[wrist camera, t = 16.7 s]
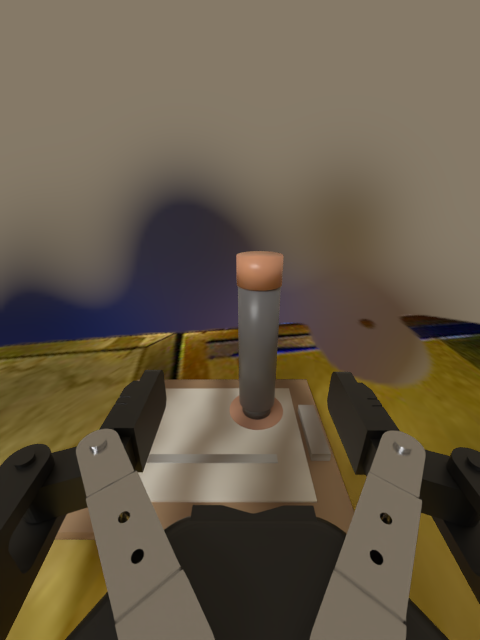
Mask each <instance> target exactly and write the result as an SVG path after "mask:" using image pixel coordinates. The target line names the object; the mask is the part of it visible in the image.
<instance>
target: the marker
mask: <svg viewBox="0 0 480 640" xmlns="http://www.w3.org/2000/svg"><path fill="white" fill-rule="evenodd" d="M282 273H283V255H282V254H280V253H276V252H267V251H252V252H243V253H239V254H237V286H238V314H239V315H238V324H239V402H240V404H241V406H242V411H243V413H244V415H245V416H247V417H248V418H251V419H255V420H260V419H264V418H266V417H268V416H269V414H270V412H271V408H272V406H273V405H274V398H275V380H276V361H277V343H278V325H279V306H280V287H281V286H282Z"/></svg>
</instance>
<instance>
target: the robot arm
mask: <svg viewBox="0 0 480 640" xmlns="http://www.w3.org/2000/svg"><path fill="white" fill-rule="evenodd" d="M166 400H167V398H166V389H165V381H164V374H163V371H162V370H145V372H144V373H143V375H142V377H141V379H140V381H132V382H131V383H130V384H129V385H128V386H126V387H125V388H124V390H123V391H122V393H121V395H120V398H118V400H117V401H116V404H115V405H114V406H113V408H112V410H111V411H110V413H109V414H108V416H107V418H106V419H105V421H104V423H103V424H102V426H101V428H100V429H99V430H97V431H94V432H92V433H90V434H88V435H87V436H86V437H84V438H83V439H82V440H81V441H80V442H79V444H78V446H77V447H73V448H70V449H66V450H62V451H58V452H54V453H51V451H50V449H49V447H48V446H47V445H44V444H34V445H30V446H27V447H24V448H22V449H20V450H18V451H16V452H15V453H13V454H12V455H11V456H9V457H8V458H7V459H6V460H5V461H4V462H3V464H2V465H1V466H0V640H5V639H6V637H7V635H8V633H9V631H10V629H11V627H12V625H13V623H14V621H15V619H16V617H17V615H18V613H19V611H20V609H21V607H22V605H23V603H24V601H25V599H26V597H27V595H28V592H29V590H30V588H31V586H32V584H33V582H34V580H35V578H36V576H37V574H38V572H39V570H40V568H41V566H42V564H43V562H44V560H45V558H46V556H47V554H48V552H49V550H50V548H51V545H52V543H53V541H54V539H55V537H56V535H57V533H58V531H59V529H60V527H61V525H62V523H63V521H64V519H65V517H66V515H67V514H69V513H72V512H75V511H78V510H81V509H84V508H88V511H89V515H90V519H91V523H92V527H93V532H94V536H95V540H96V544H97V548H98V552H99V557H100V561H101V565H102V569H103V573H104V578H105V582H106V586H107V590H108V592H107V593H106V594H105V595H104V596H103V597H102V599H101V600H100V601H99V602H98V603H97V604H96V605H95V606H94V608H93V609H92V610H91V611H90V612H89V613H88V614H87V615H86V617H85V618H84V619H83V620H82V621H81V622H80V623H79V625H78V626H77V627H76V628H75V629H74V630H73V631H72V632H71V634H70V635H69V636H68V637H67V638H66V639H65V640H449V639H448V638H447V637H446V636H445V635H444V634H443V633H442V632H441V631H440V630H439V629H438V628H437V627H436V626H435V625H434V624H433V622H432V621H431V620H430V619H429V618H428V617H427V616H426V615H425V614H424V613H423V612H422V611H421V610H420V609H419V608H418V607H417V606H416V605H415V604H414V603H413V602H412V601H411V600H410V598H409V592H410V584H411V577H412V570H413V563H414V556H415V549H416V542H417V535H418V528H419V521H420V514H421V513H424V514H427V515H430V516H432V518H433V520H434V521H435V523H436V525H437V527H438V529H439V531H440V532H441V534H442V536H443V538H444V540H445V542H446V543H447V545H448V547H449V549H450V551H451V553H452V554H453V556H454V558H455V560H456V562H457V564H458V565H459V567H460V569H461V571H462V573H463V575H464V576H465V578H466V580H467V582H468V584H469V586H470V587H471V589H472V591H473V593H474V595H475V597H476V598H477V600H478V602H479V604H480V452H478V451H475V450H473V449H469V448H463V447H459V448H456V449H454V450H453V451H452V453H451V455H450V456H447V455H443V454H439V453H435V452H431V451H428V450H425V449H424V448H423V446H422V445H421V444H420V443H419V442H418V441H417V440H416V439H415V438H413V437H412V436H410V435H408V434H406V433H403V432H400V431H399V429H398V428H397V426H396V425H395V423H394V422H393V420H392V419H391V417H390V416H389V415H388V413H387V412H386V410H385V409H384V407H382V404H381V403H380V401H379V400H377V397H376V396H375V394H374V393H373V391H372V390H371V389H370V388H368V387H367V386H366V385H364V384H363V383H357V381H356V380H355V378H354V377H353V375H352V373H351V372H333V373H332V376H331V381H330V387H329V393H328V399H327V403H328V409H329V412H330V415H331V417H332V420H333V422H334V424H335V427H336V429H337V432H338V434H339V436H340V439H341V441H342V444H343V446H344V448H345V451H346V453H347V456H348V458H349V460H350V463H351V465H352V468H353V470H354V472H355V475H366V476H367V478H366V481H365V484H364V487H363V490H362V492H361V495H360V498H359V501H358V504H357V506H356V509H355V512H354V515H353V518H352V521H351V523H350V526H349V529H348V532H347V534H346V533H345V532H344V531H343V530H342V529H340V528H339V527H337V526H336V525H334V524H332V523H331V522H329V521H327V520H324V519H322V518H319V517H316V514H315V510H314V506H312V505H283V506H280V507H276V508H273V509H269V510H266V511H262V512H259V513H248V512H245V511H241V510H238V509H234V508H231V507H227V506H224V505H192V512H191V516H188V517H185V518H183V519H180V520H178V521H176V522H175V523H173V524H171V525H170V526H168V527H167V528H166V529H163V527H162V525H161V523H160V520H159V518H158V516H157V514H156V512H155V509H154V507H153V505H152V503H151V500H150V498H149V496H148V494H147V492H146V489H145V487H144V485H143V483H142V480H141V478H140V476H139V474H138V472H143V471H144V468H145V465H146V462H147V459H148V457H149V454H150V451H151V448H152V445H153V442H154V440H155V437H156V434H157V431H158V428H159V425H160V423H161V420H162V417H163V414H164V411H165V408H166Z"/></svg>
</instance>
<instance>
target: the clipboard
mask: <svg viewBox="0 0 480 640" xmlns="http://www.w3.org/2000/svg"><path fill="white" fill-rule="evenodd" d="M137 381H140V380H137ZM164 381H165V389H166V398H167V400H166V408H165V411H164V414H163V417H162V420H161V423H160V425H159V428H158V431H157V434H156V437H155V440H154V442H153V445H152V448H151V451H150V454H149V457H148V459H147V462H146V465H145V468H144V471H143V472H138V474H139V476H140V478H141V480H142V483H143V485H144V487H145V489H146V492H147V494H148V496H149V498H150V500H151V503H152V505H153V507H154V509H155V512H156V514H157V516H158V518H159V520H160V523H161V525H162V527H163V529H166V528H167V527H168V526H170V525H171V524H173V523H175V522H176V521H178V520H180V519H183V518H185V517H188V516H191V512H192V505H224V506H227V507H231V508H234V509H238V510H241V511H245V512H248V513H259V512H262V511H266V510H269V509H273V508H276V507H280V506H283V505H312V506H314V510H315V514H316V517H319V518H322V519H324V520H327V521H329V522H331V523H332V524H334V525H336V526H337V527H339V528H340V529H342V530H343V531H344V532H345V533H346V534H347V532H348V529H349V526H350V523H351V521H352V518H353V515H354V510H353V507H352V504H351V502H350V499H349V496H348V493H347V491H346V488H345V485H344V482H343V480H342V477H341V474H340V471H339V468H338V466H337V463H336V460H335V457H334V455H333V452H332V449H331V446H330V444H329V441H328V438H327V435H326V433H325V430H324V427H323V424H322V421H321V419H320V416H319V413H318V410H317V408H316V405H315V402H314V399H313V397H312V394H311V391H310V388H309V386H308V383H307V380H306V379H277V380H275V398H274V405H273V406H272V408H271V412H270V414H269V416H268V417H266V418H264V419H260V420H255V419H251V418H248V417H247V416H245V415H244V413H243V411H242V406H241V404H240V402H239V380H164ZM55 539H95V536H94V532H93V527H92V523H91V519H90V515H89V511H88V508H84V509H81V510H78V511H75V512H72V513H69V514H67V515H66V517H65V519H64V521H63V523H62V525H61V527H60V529H59V531H58V533H57V535H56V537H55Z"/></svg>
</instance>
